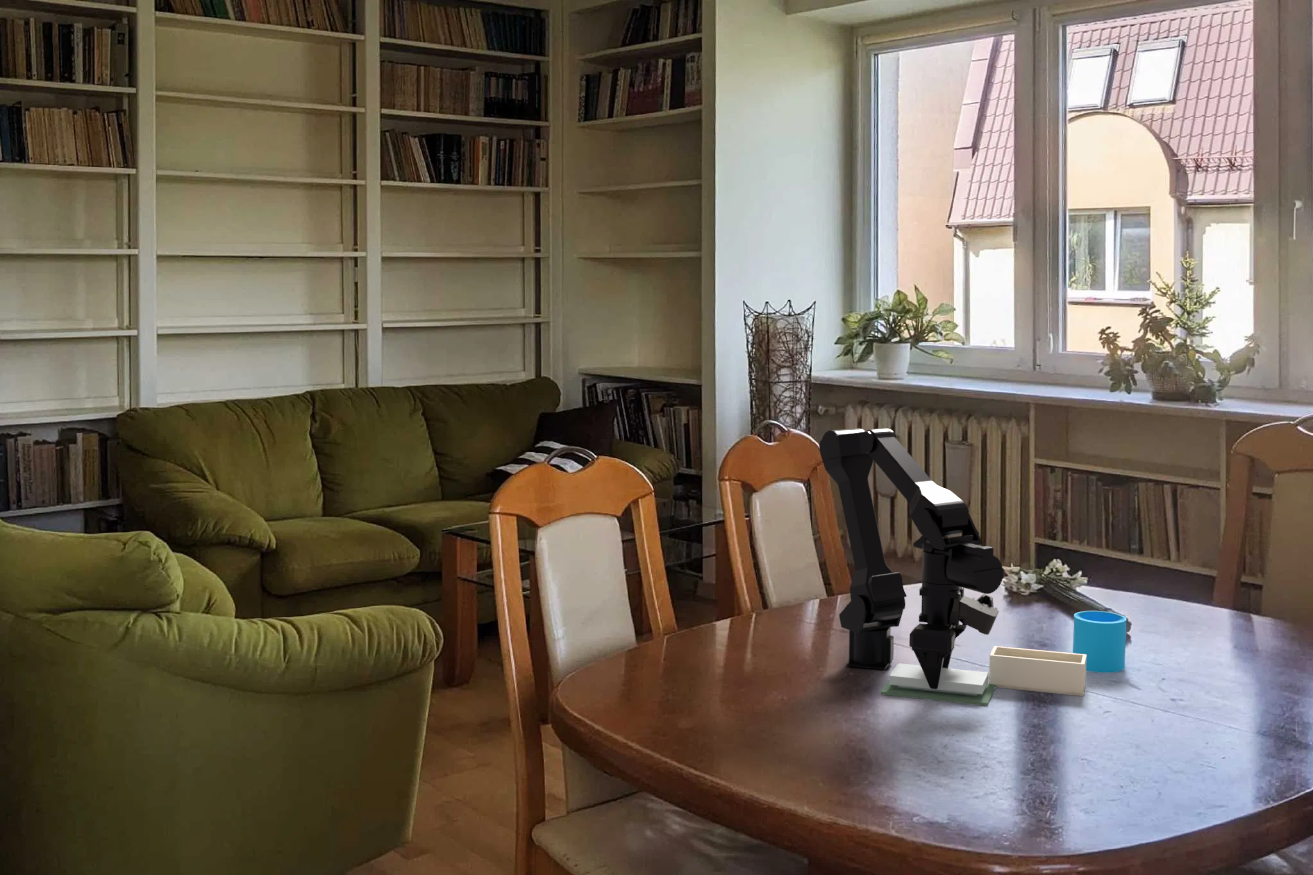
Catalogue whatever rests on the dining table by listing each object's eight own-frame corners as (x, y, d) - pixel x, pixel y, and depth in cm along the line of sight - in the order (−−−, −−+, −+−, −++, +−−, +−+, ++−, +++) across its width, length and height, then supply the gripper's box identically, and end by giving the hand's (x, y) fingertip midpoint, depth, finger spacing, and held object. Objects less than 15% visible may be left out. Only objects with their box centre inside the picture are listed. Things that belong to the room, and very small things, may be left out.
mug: (1111, 676, 214) (1113, 626, 213) (1063, 666, 220) (1065, 617, 219) (1142, 660, 223) (1144, 612, 222) (1095, 651, 228) (1097, 604, 227)
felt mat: (880, 694, 205) (880, 691, 205) (893, 676, 214) (893, 673, 214) (987, 705, 199) (987, 703, 199) (995, 686, 208) (995, 684, 208)
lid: (889, 689, 206) (889, 675, 206) (898, 676, 212) (898, 663, 212) (982, 699, 201) (982, 685, 201) (988, 686, 207) (988, 672, 207)
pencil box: (988, 686, 209) (989, 655, 208) (993, 676, 214) (994, 645, 213) (1083, 696, 204) (1084, 664, 203) (1085, 685, 209) (1086, 654, 208)
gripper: (987, 598, 193) (984, 703, 195) (1002, 572, 210) (999, 668, 212) (909, 592, 197) (907, 695, 199) (931, 566, 214) (928, 661, 216)
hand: (938, 679), depth 206 cm, fingers open, 9 cm apart
